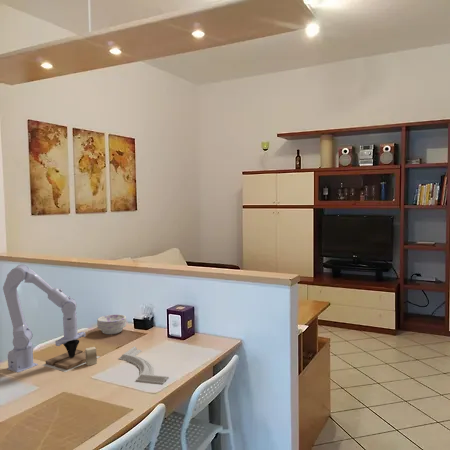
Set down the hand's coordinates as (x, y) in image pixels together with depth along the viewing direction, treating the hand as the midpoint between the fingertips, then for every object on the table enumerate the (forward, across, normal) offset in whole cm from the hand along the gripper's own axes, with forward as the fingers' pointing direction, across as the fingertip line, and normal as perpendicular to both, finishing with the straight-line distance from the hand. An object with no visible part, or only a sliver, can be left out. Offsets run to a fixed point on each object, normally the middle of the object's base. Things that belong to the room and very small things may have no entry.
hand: (71, 356), depth 190 cm
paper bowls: (+2, +39, +16) cm, 42 cm away
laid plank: (+2, 0, +5) cm, 5 cm away
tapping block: (-1, +3, -9) cm, 9 cm away
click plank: (+2, 0, -3) cm, 3 cm away
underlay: (+2, 0, 0) cm, 2 cm away
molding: (+3, +12, -32) cm, 35 cm away
